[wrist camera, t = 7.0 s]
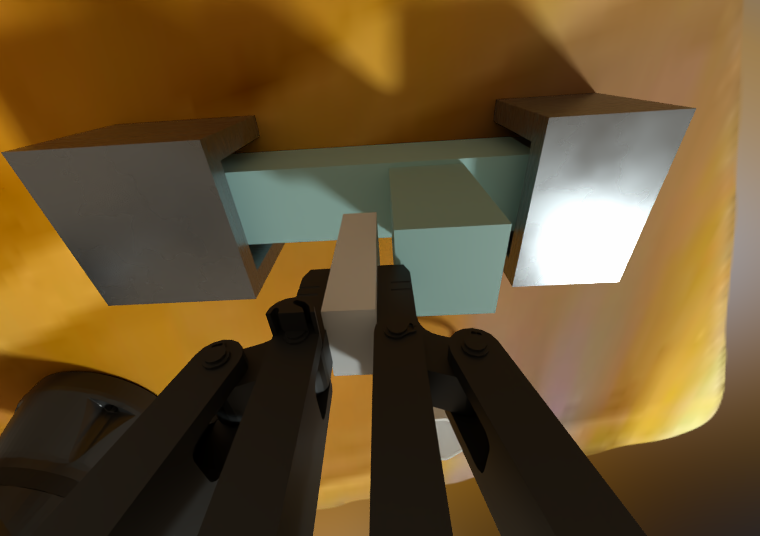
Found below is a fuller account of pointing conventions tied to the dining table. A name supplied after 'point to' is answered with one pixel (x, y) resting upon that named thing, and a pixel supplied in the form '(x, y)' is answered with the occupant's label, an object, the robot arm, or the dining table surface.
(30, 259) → the dining table surface
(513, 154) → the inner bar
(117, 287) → the gray block
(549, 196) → the socket
